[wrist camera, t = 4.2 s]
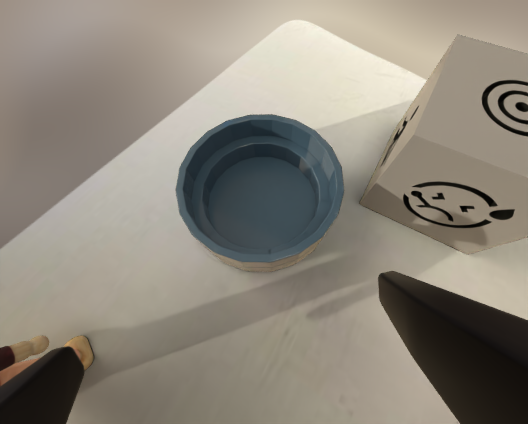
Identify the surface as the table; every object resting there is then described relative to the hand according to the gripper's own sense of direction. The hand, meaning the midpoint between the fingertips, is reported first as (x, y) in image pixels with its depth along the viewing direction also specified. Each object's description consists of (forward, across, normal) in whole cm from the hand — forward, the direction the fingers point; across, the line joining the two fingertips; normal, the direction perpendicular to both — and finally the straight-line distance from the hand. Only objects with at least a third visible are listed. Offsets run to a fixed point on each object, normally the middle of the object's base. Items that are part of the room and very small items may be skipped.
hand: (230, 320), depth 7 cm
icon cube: (+16, -18, +4) cm, 25 cm away
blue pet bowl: (+17, -2, +2) cm, 17 cm away
